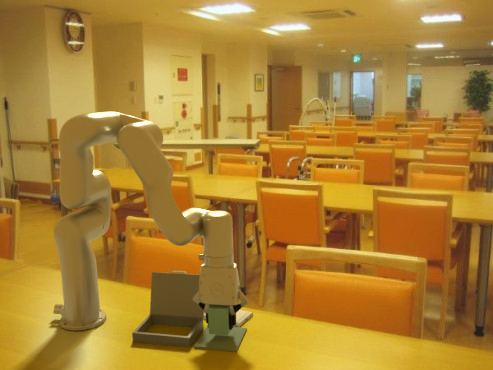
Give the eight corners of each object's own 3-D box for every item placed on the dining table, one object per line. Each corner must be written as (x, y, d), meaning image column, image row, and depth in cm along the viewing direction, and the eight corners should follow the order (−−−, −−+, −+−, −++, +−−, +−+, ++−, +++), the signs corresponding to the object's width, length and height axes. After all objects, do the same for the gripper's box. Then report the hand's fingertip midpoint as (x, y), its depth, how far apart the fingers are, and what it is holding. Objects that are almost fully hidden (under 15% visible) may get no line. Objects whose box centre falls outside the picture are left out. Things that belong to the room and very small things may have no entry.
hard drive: (201, 314, 145) (239, 323, 139) (215, 304, 152) (253, 311, 147) (201, 320, 145) (239, 328, 140) (216, 309, 153) (253, 316, 147)
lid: (151, 270, 144) (153, 269, 145) (149, 314, 143) (151, 313, 144) (204, 273, 140) (206, 272, 142) (202, 318, 139) (204, 317, 141)
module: (208, 333, 130) (207, 308, 129) (215, 323, 136) (214, 298, 135) (227, 335, 129) (226, 309, 128) (233, 324, 135) (232, 299, 134)
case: (132, 341, 132) (132, 332, 132) (150, 322, 144) (149, 313, 143) (189, 347, 129) (189, 338, 129) (203, 326, 140) (203, 317, 140)
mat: (194, 347, 129) (194, 346, 129) (207, 326, 140) (207, 324, 140) (236, 351, 126) (236, 350, 126) (246, 329, 138) (246, 328, 138)
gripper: (182, 263, 127) (185, 330, 131) (248, 266, 124) (250, 335, 127) (191, 253, 135) (194, 317, 138) (254, 256, 131) (256, 322, 134)
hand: (221, 325), depth 133 cm, fingers closed on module, 5 cm apart
